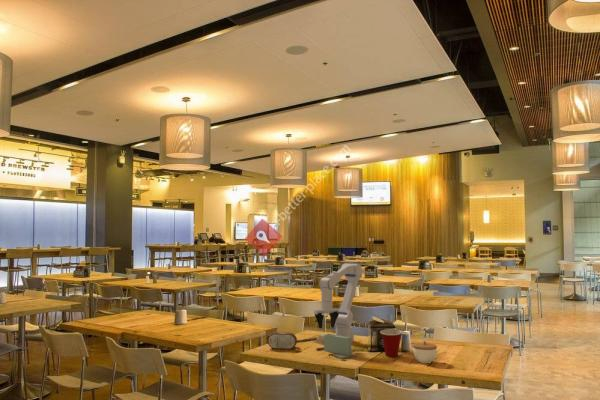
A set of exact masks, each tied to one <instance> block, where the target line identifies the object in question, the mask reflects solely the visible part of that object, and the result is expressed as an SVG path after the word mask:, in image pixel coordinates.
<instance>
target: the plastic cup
mask: <svg viewBox="0 0 600 400" xmlns="http://www.w3.org/2000/svg"><path fill="white" fill-rule="evenodd" d="M379 333H380V334H381V339H382V344H383V349H384V355H385V356H386V357H387V356H388V357H387V358H398V356H399V350H400V345H401V343H400V342H401V338H402V334H403V330H402V329H397V328H387V329H381V330H380V331H379Z"/></svg>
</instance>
